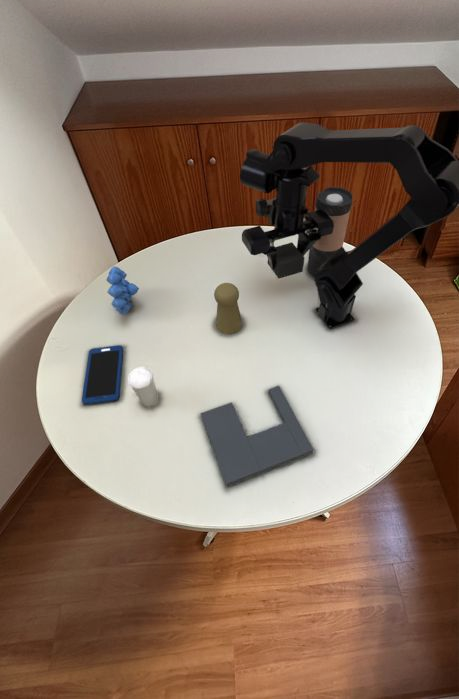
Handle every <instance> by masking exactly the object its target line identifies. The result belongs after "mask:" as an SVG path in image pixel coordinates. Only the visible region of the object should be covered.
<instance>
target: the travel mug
mask: <svg viewBox="0 0 459 699" xmlns="http://www.w3.org/2000/svg"><path fill="white" fill-rule="evenodd" d="M353 200H354V195H353V193H352V192H351V191H350V190H348V189H346V188H343V187H339V186H331V187H330V186H329V187H325V188H324V189H323V190H322V191H321V192H320V193H317V194H316V199H315V201H316V202H315V206H314V211H316V210H322V211H324V212H325V213H326V214H327V215H328V216H329V217H330V218H331V219H332V220H333V221H334V230H333V233H332V234H329V235H326V236H322V237H321V239H320V240H318V241H316V243H315V244H314V245H313V246H312V247H311V248H310V249H309V250H308V259H307V266H306V267H307V269H306V270H307V273H308V274H309V276H311V277H312V278H314V279H315V277H316V275H317V273H316V271H317V270H318V269H319V268H320V267H321V266H322V265H323V264H324V263H325V262H326V261H327V260H328V259H329V258H330V256H331V255H334V254H335V253H336V252H337V251H338V250H339V249H340V248H341V247H343V246H344V242H345V237H346V233H347V228H348V224H349V218H350V215H351V211H352V210H351V209H352V205H353ZM343 248H344V247H343Z"/></svg>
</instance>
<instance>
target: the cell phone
mask: <svg viewBox="0 0 459 699" xmlns="http://www.w3.org/2000/svg"><path fill="white" fill-rule="evenodd" d="M123 358H124V347H123V346H122V344H121V345H111V346H103V347H95V348H91V349H89V351H88V355H87V362H86V368H85V374H84V375H85V376H84V382H83V389H82V396H81V403H82V404H83V405H95V404H103V403H109V402H116V401H118V400H119V399H120V394H121V383H122V382H121V381H122V372H123V370H122V369H123Z"/></svg>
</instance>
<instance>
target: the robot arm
mask: <svg viewBox="0 0 459 699" xmlns="http://www.w3.org/2000/svg"><path fill="white" fill-rule="evenodd" d="M245 155H246V156H245V157H246V158H245V160H244V161H243V163H242V166H241V168H240V172H239V181H240V183H241V184H242V185H243V186H245V187H248V188H250V189H253V190H255V191H259V192H261V193H264V194H270V193H272V192H273V191H275V198H271V199H268V200H267V199H264V198H260V199H256V200H255V206H254V207H255V214H256V216H258V217H260V218H262V217H264V218H267V219H268V221H269V222H268V223H269V225H270V226H274V228H273V229H270V230H266V231H264V229H263V228H262V226H261V225H256V226H253V227H250V228H245V229H243V231H242V233H241V241H242V243H243V245H244V247H245V248H246V250H247V251H248V252H249V253H250V255H252V256H258V255H261V254H262V255H264V256H266V258H267V261H268V260H269V263H270V266H271V268H272V269H274V267H275V264H276V257H277V249H276V248H275V247H276V246H275V241H280V240H282V239H287V238H290V237H293V236H297V245H296V248H297V249H298V250H299V251H300V253H301V254H302V255H303V256H304V257H305V255H306V254H307V253H308V252H309V249H310V248H311V247H312V246H313V245H314V244H315V243H316V241H318V240H320V239H321V237H322V236H326V235H329V234H332V233H333V230H334V221H333V220H332V219H331V218H330V217H329V216H328V215H327V214H326V213H325V212H324V211H322V210H316V211H315V210H313V211H310V212H309V208H308V206H306V200H307V193H308V192H307V191H308V187H310V186H312V185H313V184H314V183H316V182H317V181H318V180H319V179H320V178H321V176H320V174H319V173H318V171H317V170H315V168H314V165H317V164H321V163H359V164H360V163H361V164H362V163H363V164H364V163H365V164H366V163H367V164H390V165H391V166H392V167H393V168H394V169H395V170H396V172H397V174H398V177H399V179H400V182H401V185H402V186H403V188H404V191H405V192H406V194H407V195H408V196H409V197H410V198H409V199H408V201H407V202H406V203H405V204H404V206H402V207H401V209H399V210H398V211H397V212H396V213H395V214H394V215H392V216H391V217H389V218H388V219H387V220H386V221H384V223H383V224H382V225H380V226H379V227H378V228H377V229H375V230H374V231H372V233H370V234H369V235H368V236H367V237H365V239H363V240H362V241H361V242H359V243H358V244H357V245H356V246H355V247H354V248H353V249H351V250H347V251H346V249H345V248H344V247H341V248H340V249H339V250H338V251H337V252H336V253H335V254H334V255H331V256H330V258H329V259H328V260H327V261H326V262H325V263H324V264H323V265H322V266H321V267H320V268H319V269H318V270H317V271H316V273H317V275H316V277H315V278H314V279H313V280H314V283H315V287H316V291H317V295H318V299H319V306H318V307H316V308H315V313H317V316H318V317H319V318H320V320H321V321H322V323H324V325H325V326H326V327H327V328H328V329H330V330H331V329H335V328H338V327H340V326H343V325H347V324H349V323H352V322H354V321H355V317H354V316H353V314H352V311H353V308H354V304H355V302H356V297H357V295H356V293H357V292H358V291H359V290H360V289H361V287H362V286H363V285H364V283H363V281H362V279H361V278H360V275H358V272H359V271H361V270H362V269H363V268H365V267H366V266H367V265H369V264H370V263H371V262H372V261H374V260H376V259H377V258H378V257H380V256H381V255H382V254H384V253H385V252H386V251H387V250H389V249H390V248H391V247H393V246H394V245H396V244H397V243H398V242H400V241H401V240H402V239H404V238H405V237H406V236H408V235H409V234H411V233H412V232H413V231H416V230H418V229H422V228H426V227H429V226H431V225H433V224H435V223H437V222H439V221H442V220H444V219H446V218H447V217H449V216H451V215H452V214H453V213H454V212H455V211H456V210H457V208H458V207H459V160H458V158H457V157H456V156H455V155H454V154H453V153H452V151H451V150H450V149H449V148H447V147H446V146H444V145H442V144H440V143H439V142H437V141H435V139H433V138H431V137H430V136H429V135H428V134H427V132H426V131H425V130H424V129H423V128H421V127H420V126H419V125H414V124H413V125H412V124H410V125H406V126H403V127H385V128H383V127H381V128H359V129H337V130H335V129H330V128H329V129H328V128H326V127H324V126H323V125H321V124H317V123H311V122H304V121H302V122H298V123H297V124H295V125H294V126H292V127H290V128H289V129H287V130H286V131H284V132H283V133H281V134H280V135H278V136H276V138H275V140H274V142H273V145H272V152H271V153H266V152H264V151H263V152H262V151H260V150H259V149H256V148H251V149H250V150H248V151H247V152H246V154H245ZM270 266H269V267H270ZM271 268H270V269H271ZM272 269H271V270H272Z"/></svg>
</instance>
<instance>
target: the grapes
mask: <svg viewBox="0 0 459 699" xmlns="http://www.w3.org/2000/svg"><path fill="white" fill-rule="evenodd" d="M127 275H128V274H127V273H126V272H125V271H124V270H122V269H121V267H118V266H112V267H111V268H110V270H109V272H108V276H107V278H106V282H108V283H109V284H110V285H111V286H109V288H108V290H107V294H108V295H110V296H111V297H112V298H113V299H112V301H111V303H110V305H111V306H112V307H113V308H114V309H115V311H117V313H119V314H120V315H123V316H124V315H127V313H129V311H130V310H131V309H132V307H133V304H132V302H130V301H131V299H132V297H133V296H135V295H136V294H137V293H138V292H139V290H140V288H139V286H137V285H136V284H135V283H133V282H130V281H129V280H127V279H126V277H127Z"/></svg>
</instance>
